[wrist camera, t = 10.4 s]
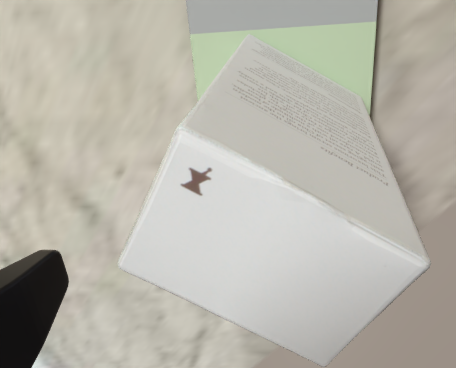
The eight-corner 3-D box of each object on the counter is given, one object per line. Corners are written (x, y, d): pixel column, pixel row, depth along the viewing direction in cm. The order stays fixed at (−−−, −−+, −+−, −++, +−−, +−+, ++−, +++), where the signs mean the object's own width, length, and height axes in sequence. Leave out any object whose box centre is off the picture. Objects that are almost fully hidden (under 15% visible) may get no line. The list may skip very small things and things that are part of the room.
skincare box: (207, 112, 20) (105, 267, 10) (248, 30, 18) (174, 117, 8) (315, 171, 21) (325, 376, 10) (367, 97, 19) (443, 262, 8)
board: (388, -192, 15) (391, -197, 14) (364, 168, 21) (365, 173, 21) (171, -158, 16) (166, -162, 16) (208, 169, 23) (206, 174, 22)
